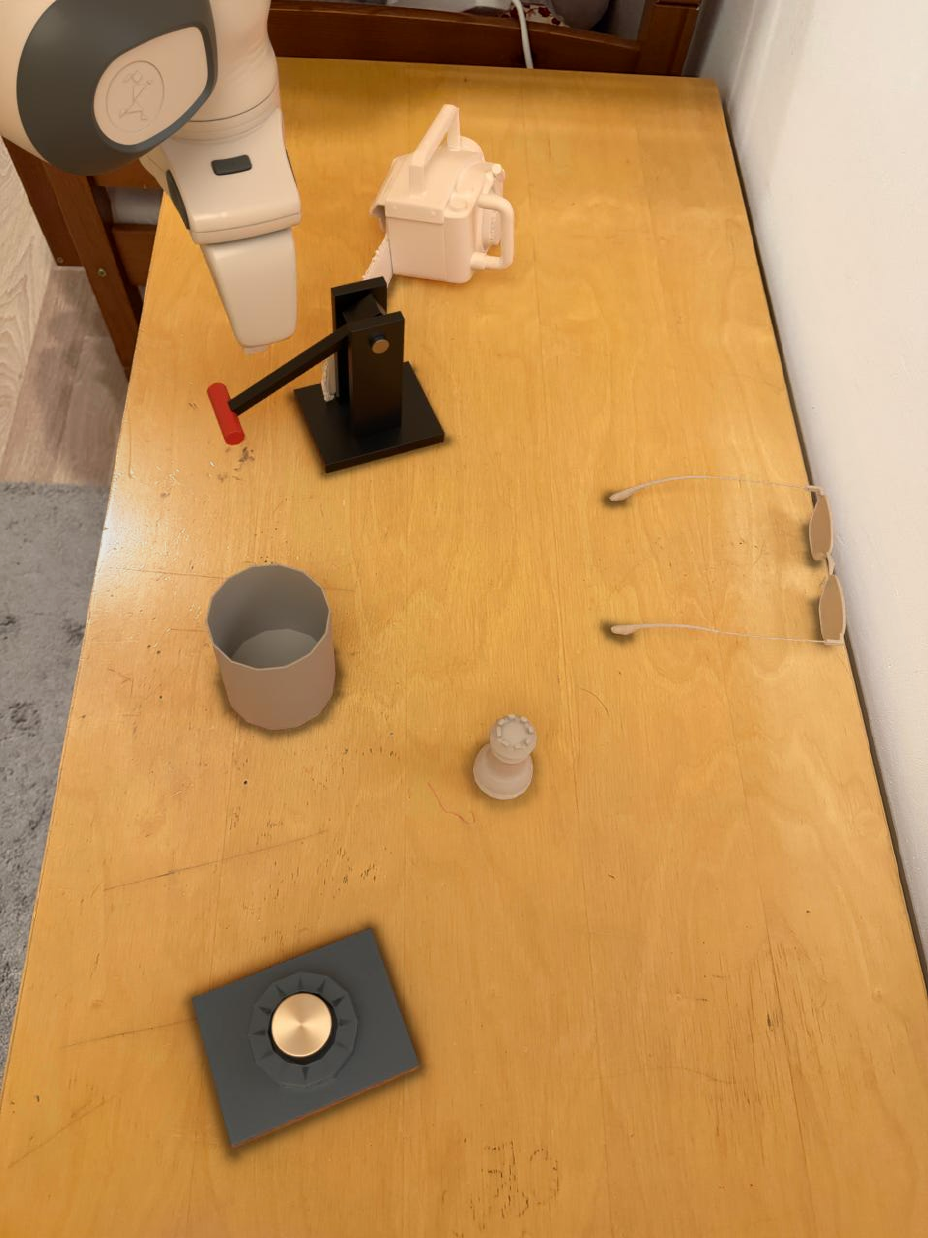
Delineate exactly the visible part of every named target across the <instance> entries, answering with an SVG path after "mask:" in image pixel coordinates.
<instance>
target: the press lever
mask: <svg viewBox="0 0 928 1238" xmlns="http://www.w3.org/2000/svg"><path fill="white" fill-rule="evenodd" d="M342 314H343V316H344V318H345V320H346V322H347V323H346V324H345V325H343V326H342V327H340V328H339V329H337V330H335V331H334V332H333V331H332V332H331V333H329V334H328V335H326V336H325V337H323V338H322V339H320V340H319V341H317V342H316V343H314V344H313V345H311V346H310V347H308V348H307V349H305V350H303V351H302V352H300V353H299V354H298V355H296V356H294V357H293V358H291V359H290V360H288V361H287V362H285V363H284V364H283V365H281V366H279V367H278V368H276V369H275V370H273V371H271V372H270V373H269V374H267V375H266V376H264V377H262V378H260V380H258V381H257V382H255V383H253V384H252V385H251V386H249V387H248V388H246V389H245V390H243V391H241V392H240V393H238V394H237V395H235V396H233V397H232V398H231V394H230V393H229V390H228V387H227V385H226V384H225V383H223V382H214V383H211V384H210V385H209V386H208V387H207V388H206V394H207V397H208V399H209V402H210V404H211V408H212V411H213V413H214V416H215V419H216V421H217V424H218V427H219V430H220V432H221V435H222V438H223V440H224V442H225V443H226V444H227V445H229V446H237V445H240V444H241V443H243V442H244V440H245V438H246V434H245V431H244V428H243V426H242V423H241V421H240V418H239V416H241V415H243V414H244V413H246V412H247V411H249V410H250V409H252V408H253V407H255V406H256V405H258V404H260V403H261V402H262V401H264V400H265V399H267V398H269V397H270V396H271V395H273V394H275V393H276V392H278V391H279V390H280V389H283V388H284V387H285V386H287V385H289V384H290V383H291V382H293V381H295V380H296V379H298V378H299V377H301V376H302V375H303V374H306V372H308V371H310V370H311V369H313V368H314V367H316V366H317V365H319V364H321V363H323V362H324V360H325V359H326V358H328V357H329V356H331V355H333V354H334V353H336V352H337V351H339V350H340V349H342V348H343V347H345V346H346V345H348V326H347V324H348V323H351V322H355V321H359V320H363V319H368V318H372V317H376V316H380V315H385V314H386V312H385V310H384V309H383V308H382V306H381V305H380V304H379V302H378V301H377V300H376V299H375V297H374V296H373V295H372V294H371V293H370V294H369V295H367V296H366V297H364V298H363V299H361V300H360V301H358V302H357V303H355V304H354V305H352V306H351V307H349V308H348V309H346V310H345V311H343V312H342Z"/></svg>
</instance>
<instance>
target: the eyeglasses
mask: <svg viewBox="0 0 928 1238" xmlns="http://www.w3.org/2000/svg"><path fill="white" fill-rule="evenodd" d="M687 479H719V480H720V479H721V480H730V481H742V482H751V483H761V484H769V485H777V486H783V487H789V488H797V489H803V490H804V491H805V492H813V493H817V497H818V498H817V499H816V502H815V504H814V507H813V510H812V513H811V517H810V520H809V524H808V540H809V547H810V553H811V557H812V560H814V561H823V560H825V559H827V563H828V578H827V576H826V575H825V576H824V577H823V579H822V581H821V582H820V584H819V585H818V587H817V589H818V590H820V588H821V587H822V586H823V589H822V591H821V595H820V597H819V601H818V617H819V626H820V627H819V628H820V632H821V633H820V634H821V637H822V639H823V640H816V639H801V638H799V639H798V638H783V637H774V636H773V637H772V636H763V635H754V634H744V633H738V632H737V633H736V632H730V631H729V632H728V631H723V630H720V629H713V628H708V627H704V626H698V625H693V624H686V623H685V624H684V623H670V622H669V623H668V622H667V623H663V622H662V623H660V622H658V623H657V622H656V623H652V622H651V623H649V622H648V623H636V624H633V623H632V624H631V623H630V624H629V623H627V624H617V625H612V626H611V627H610V631H611V633H612V634H617V635H622V636H628V635H630V634H633V633H635V632H637V631H641V630H648V629H655V628H656V629H657V628H683V629H695V630H698V631H699V630H700V631H704V632H710V633H715V634H727V635H734V636H742V637H750V638H758V639H768V640H770V639H771V640H782V641H793V642H794V641H795V642H810V643H822V644H823V645H824V646H830V647H831V646H832V647H840V648H841V647H843V646H844V645H845V640H844V638H845V637H844V635H845V633H846V626H847V616H846V615H847V614H846V613H847V612H846V604H845V597H844V593H843V588H842V584H841V581H840V578H839V576H838V575H836V574H835V573H834V568H835V565H836V561H835V560H834V559H833V557H832V555H831V554H832V552H833V548H834V543H835V542H834V541H835V539H834V537H835V536H834V535H835V533H834V532H835V531H834V519H833V514H832V508H831V503H830V500H829V498H828V496H827V495H825V493H824V489H823V486H819V485H811V484H806V485H805V486H799V485H793V484H785V483H777V482H772V481H771V482H770V481H764V480H763V481H762V480H754V479H745V478H734V477H724V476H723V477H722V476H710V475H679V476H672V477H666V478H660V479H657V480H653V481H648V482H645V483H641V484H638V485H635V486H632V487H629V488H625V489H623V490H621V491H618V492H615V493H612V494H611V495H610V496H609V497H608V498H609V500H610V501H611V502H619V501H624V500H626V499H628V498H629V497H630V496H632V495H633V494H635V493H637V492H638V491H640V490H643V489H646V488H648V487H651V486H654V485H657V484H661V483H665V482H666V483H667V482H671V481H677V480H678V481H679V480H687Z"/></svg>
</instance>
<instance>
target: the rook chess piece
mask: <svg viewBox="0 0 928 1238" xmlns="http://www.w3.org/2000/svg"><path fill="white" fill-rule="evenodd" d="M489 740H490V741H489V742H487V743H486V744H484V745H483V746H482V747H481V748H480V750H479V751H478V753H477V754H476V757H475V758H474V762H473V766H472V772H473V779H474V782H475V783H476V785H477V787H478V788H479V789H480V790H481V792H483V793H484V794H486V795H487V796H489V797H490V798H494V799H497V800H501V801H503V800H504V801H505V800H513V799H515V798H518V797H519V796H522V794H524V793H525V792H526V791H527V789H528V788H529V787H530V785H531V783H532V779H533V773H534V764H533V760H532V757H531V755H530V754H531V753H532V752H533V750H534V749H535V748H536V747H537V741H538V736H537V731H536V728H535V727H534V725H533V723H532V722H531V721H530V720H529V719H528V718H527V717H525V716H523V715H522V716H521V715H517V714H516V713H513V714H507V715H503V716H501V717H500V718H498V719H496V720H495V722H494V723H493V724H492V725H491V727H490V731H489Z"/></svg>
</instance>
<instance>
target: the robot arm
mask: <svg viewBox="0 0 928 1238" xmlns="http://www.w3.org/2000/svg"><path fill="white" fill-rule="evenodd" d="M271 3H272V0H0V136H1V137H3V138H5V139H6V140H8V141H9V142H11V143H12V144H15V145H16V146H18V147H19V148H21V149H23V151H24V150H25V151H26V152H28V153H29V154H31V155H33V156H35V157H36V158H38V159H39V160H41V161H44V162H45V163H47V164H49V165H51V166H53V167H54V168H57V169H58V170H60V171H62V172H65V173H67V174H70V175H74V176H81V177H93V176H100V175H101V176H102V175H106V174H109V173H112V172H115V171H117V170H120V169H122V168H125V167H127V166H129V165H130V164H133V163H134V162H136V161H137V160H139V162H140V164H141V165H142V166H143V168H144V169H145V170H146V171H147V172H148V173H149V174H150V175H151V176H153V177H154V178H155V180H156V182H157V183H158V184H159V186H160V188H161V189H162V190H163V192H164V193H165V194H166V195H167V197H168V198H169V199H170V201H172V204H173V206H174V208H175V209H176V210H177V213H178V214H179V216H180V218H181V220H182V222H183V225H184V227H185V229H186V230H187V231H188V234H189V235H190V238H191V241H192V242H193V243H194V244H196V245H198V246H199V248H200V251H201V253H202V255H203V258H204V261H205V264H206V265H207V268H208V271H209V273H210V277H211V278H212V281H213V283H214V286H215V288H216V291H217V293H218V296H219V298H220V301H221V304H222V306H223V308H224V311H225V314H226V316H227V319H228V321H229V325H230V328H231V330H232V333H233V336H234V338H235V341H236V342H237V344H238V345H239V346H240V347H241V348H242V351H243V353H244V354H245V355H249V356H250V355H255V354H258V353H263V352H265V351H267V350H268V349H269V347H270V345H272V344H276V343H279V342H283V341H285V340H288V339H290V338H291V337H292V336H293V334H294V333H295V332H296V329H297V324H298V270H297V269H298V267H297V254H296V245H295V239H294V233H293V230H292V227H295V226H298V225H300V224H301V223H302V219H303V214H302V213H303V212H302V202H301V196H300V192H299V189H298V184H297V180H296V176H295V174H294V171H293V167H292V163H291V161H290V156H289V153H288V150H287V139H286V128H285V127H286V126H285V118H284V113H283V112H284V111H283V110H282V100H281V89H280V77H279V76H280V75H279V66H278V61H277V60H278V59H277V56H276V54H275V51H274V48H273V45H272V43H271V40H270V38H269V37H270V36H269V31H268V19H269V14H270V10H271Z"/></svg>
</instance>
